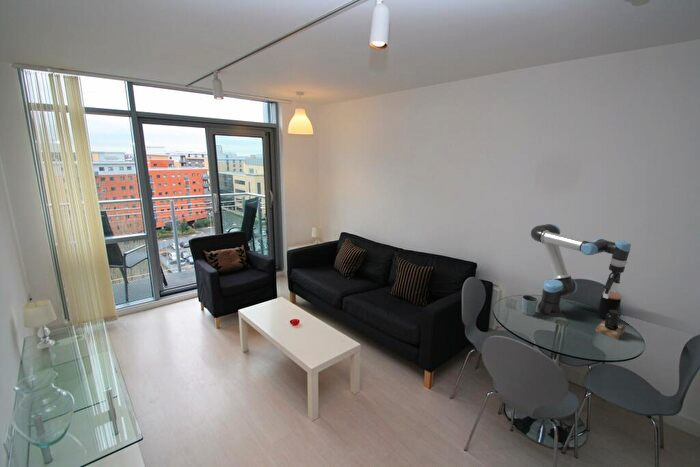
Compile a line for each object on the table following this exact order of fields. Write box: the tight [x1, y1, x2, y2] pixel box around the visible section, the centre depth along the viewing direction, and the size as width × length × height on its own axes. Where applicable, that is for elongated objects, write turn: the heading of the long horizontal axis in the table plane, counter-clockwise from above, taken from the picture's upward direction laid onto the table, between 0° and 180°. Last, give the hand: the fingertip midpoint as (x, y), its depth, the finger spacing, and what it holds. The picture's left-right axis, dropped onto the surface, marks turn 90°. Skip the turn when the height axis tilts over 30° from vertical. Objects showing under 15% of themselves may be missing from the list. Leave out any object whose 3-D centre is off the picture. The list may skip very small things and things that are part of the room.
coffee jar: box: [597, 291, 622, 321], centre depth 225 cm, size 11×11×18 cm
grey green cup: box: [521, 294, 539, 317], centre depth 233 cm, size 10×10×12 cm
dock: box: [595, 320, 626, 341], centre depth 210 cm, size 12×13×5 cm
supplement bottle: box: [604, 310, 620, 330], centre depth 208 cm, size 7×7×12 cm
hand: (609, 294), depth 210 cm, fingers open, 13 cm apart
